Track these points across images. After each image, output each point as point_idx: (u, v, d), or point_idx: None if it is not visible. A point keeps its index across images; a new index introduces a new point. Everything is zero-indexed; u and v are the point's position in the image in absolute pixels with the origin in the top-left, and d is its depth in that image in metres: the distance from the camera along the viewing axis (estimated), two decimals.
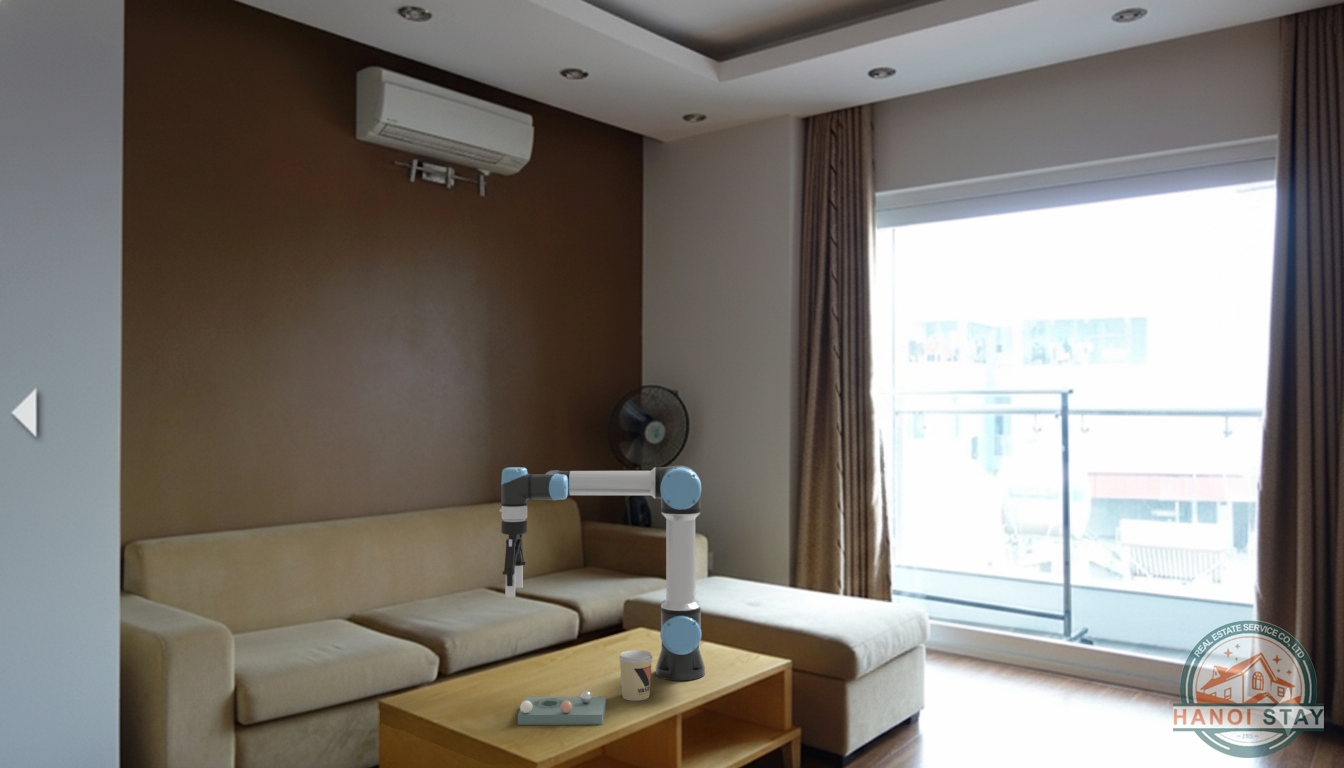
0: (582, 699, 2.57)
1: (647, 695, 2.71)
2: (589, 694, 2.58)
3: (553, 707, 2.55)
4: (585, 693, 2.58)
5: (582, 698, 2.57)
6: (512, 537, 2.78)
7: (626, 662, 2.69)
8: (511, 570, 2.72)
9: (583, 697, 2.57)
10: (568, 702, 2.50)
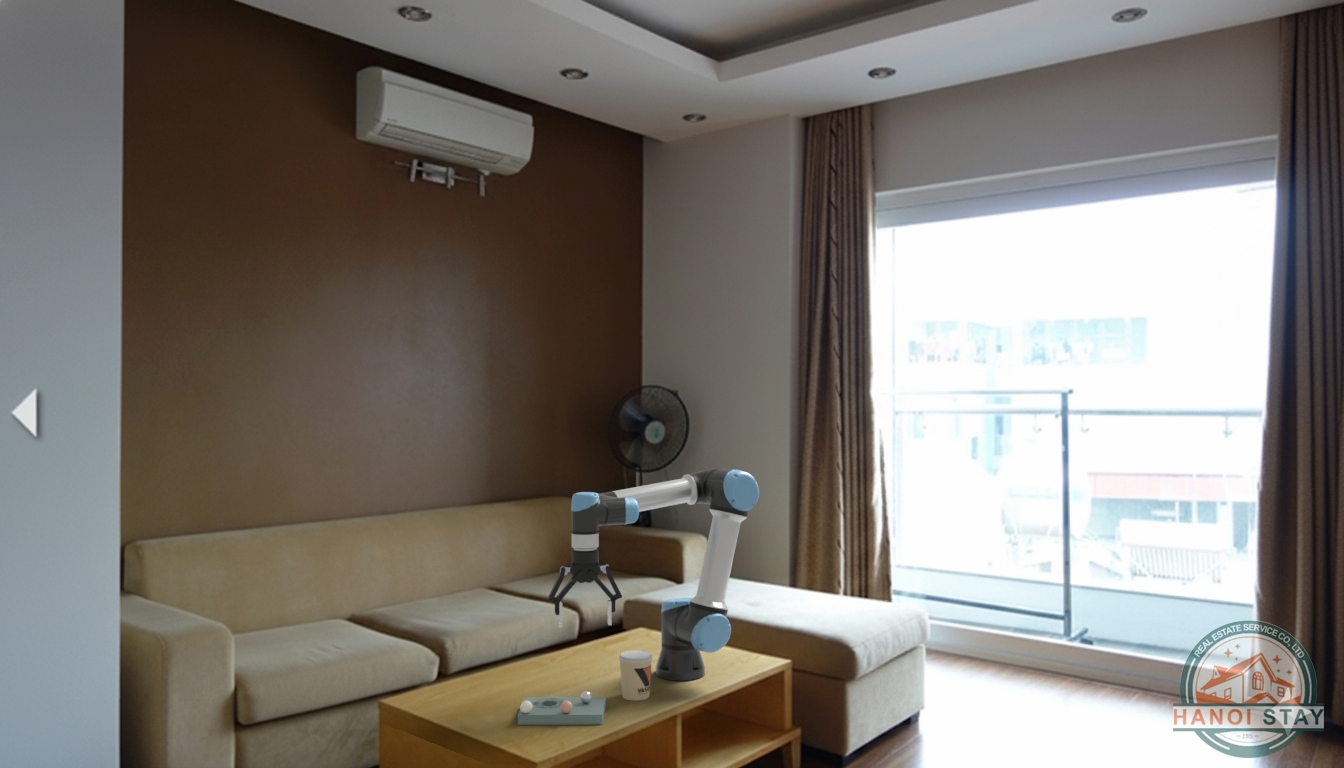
0: (582, 699, 2.57)
1: (647, 695, 2.71)
2: (589, 694, 2.58)
3: (553, 707, 2.55)
4: (585, 693, 2.58)
5: (582, 698, 2.57)
6: (571, 565, 2.64)
7: (626, 662, 2.69)
8: (549, 597, 2.62)
9: (583, 697, 2.57)
10: (568, 702, 2.50)
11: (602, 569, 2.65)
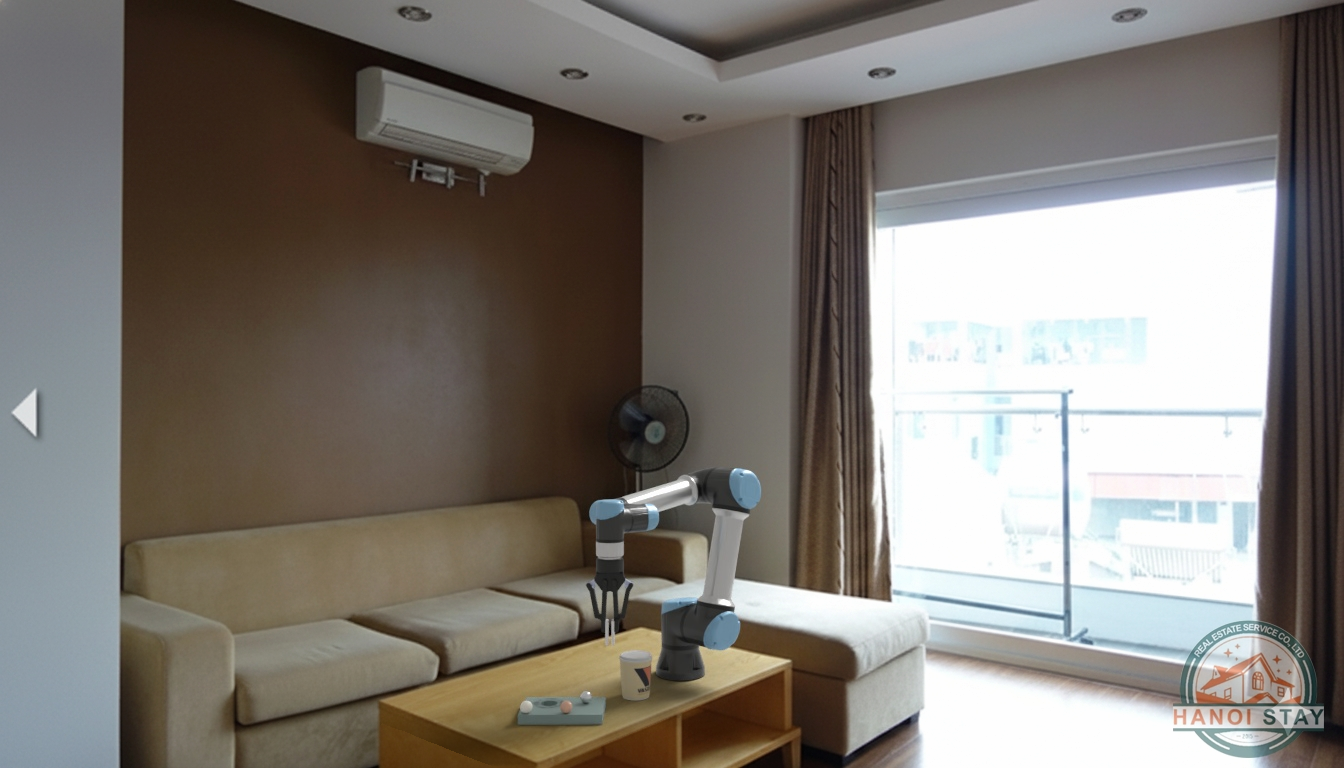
0: (582, 699, 2.57)
1: (647, 695, 2.71)
2: (589, 694, 2.58)
3: (553, 707, 2.55)
4: (585, 693, 2.58)
5: (582, 698, 2.57)
6: (596, 574, 2.59)
7: (626, 662, 2.69)
8: None
9: (583, 697, 2.57)
10: (568, 702, 2.50)
11: (625, 582, 2.59)
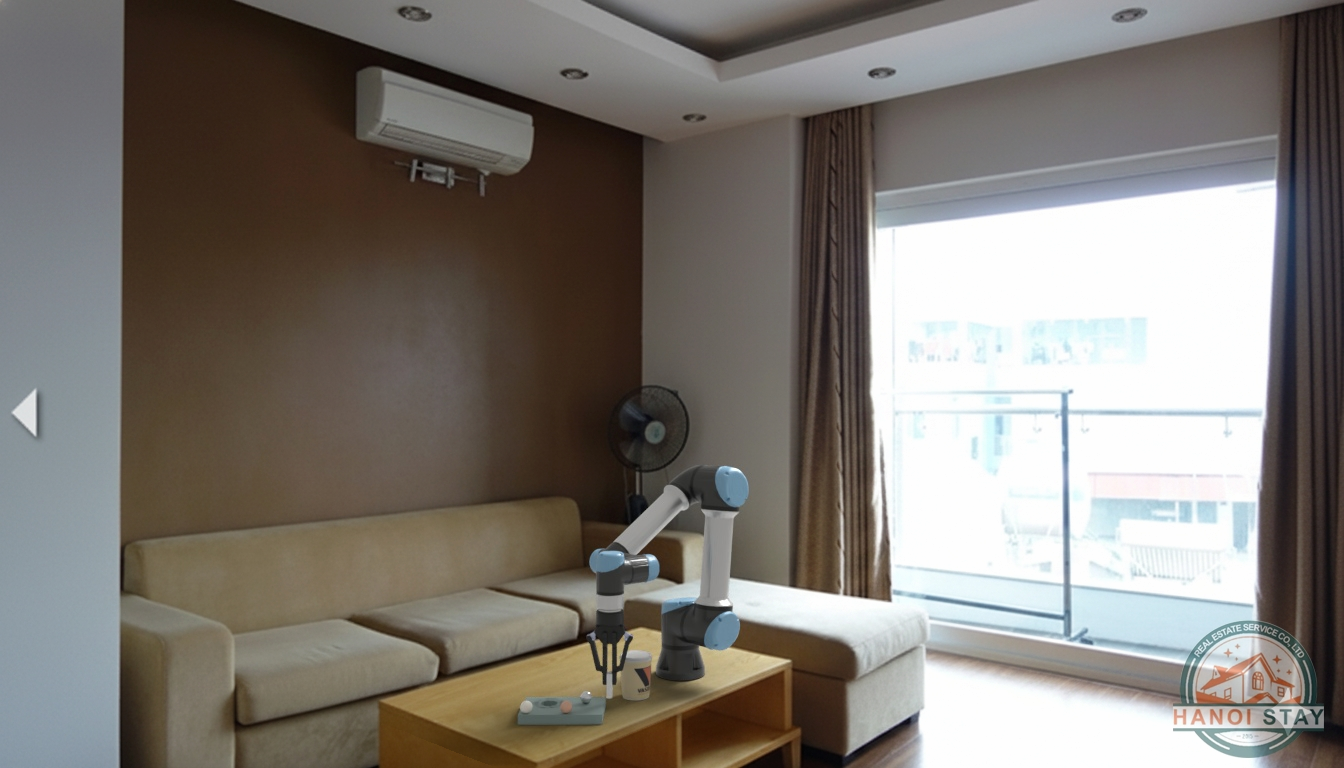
0: (582, 699, 2.57)
1: (647, 695, 2.71)
2: (589, 694, 2.58)
3: (553, 707, 2.55)
4: (585, 693, 2.58)
5: (582, 698, 2.57)
6: (596, 626, 2.59)
7: (626, 662, 2.69)
8: None
9: (583, 697, 2.57)
10: (568, 702, 2.50)
11: (625, 635, 2.58)
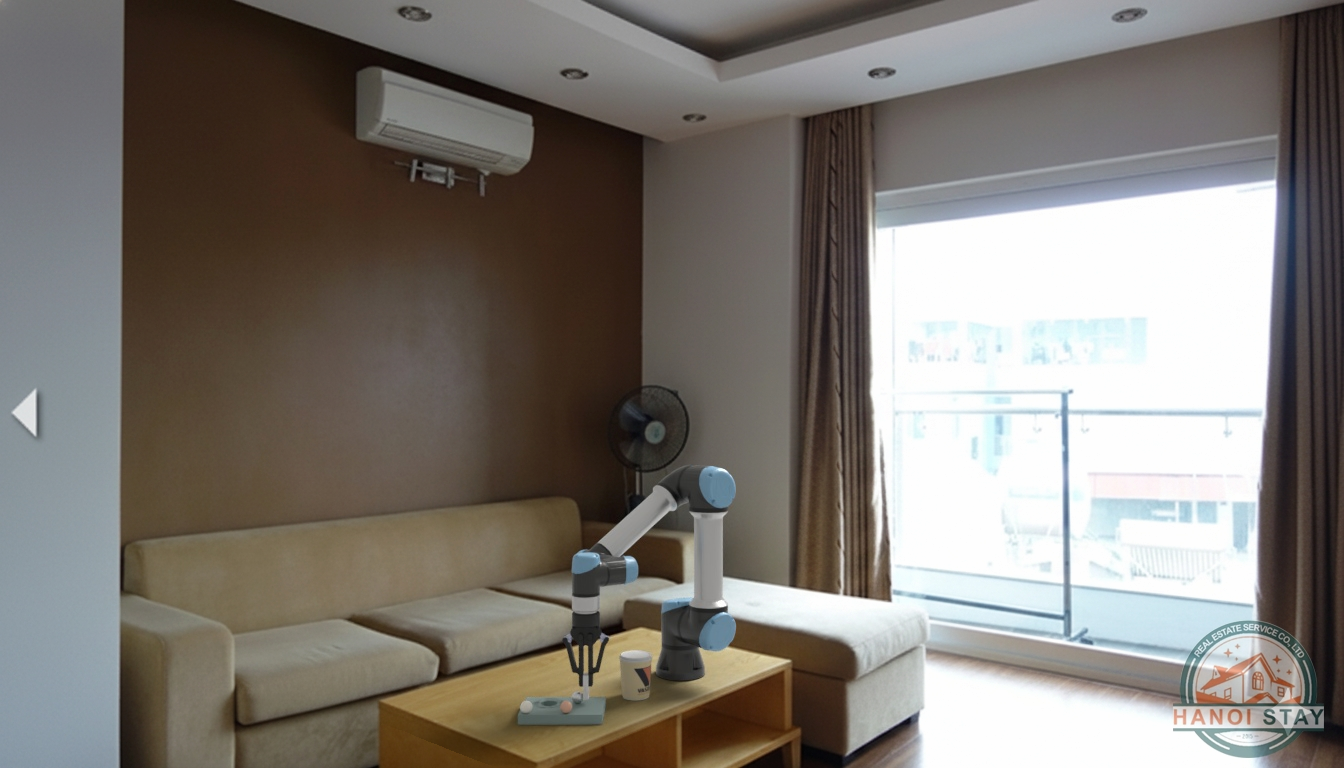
0: (577, 702, 2.57)
1: (647, 695, 2.71)
2: (574, 693, 2.58)
3: (553, 707, 2.55)
4: (572, 697, 2.58)
5: (576, 702, 2.57)
6: (572, 628, 2.59)
7: (626, 662, 2.69)
8: None
9: (575, 701, 2.57)
10: (568, 702, 2.50)
11: (601, 637, 2.58)
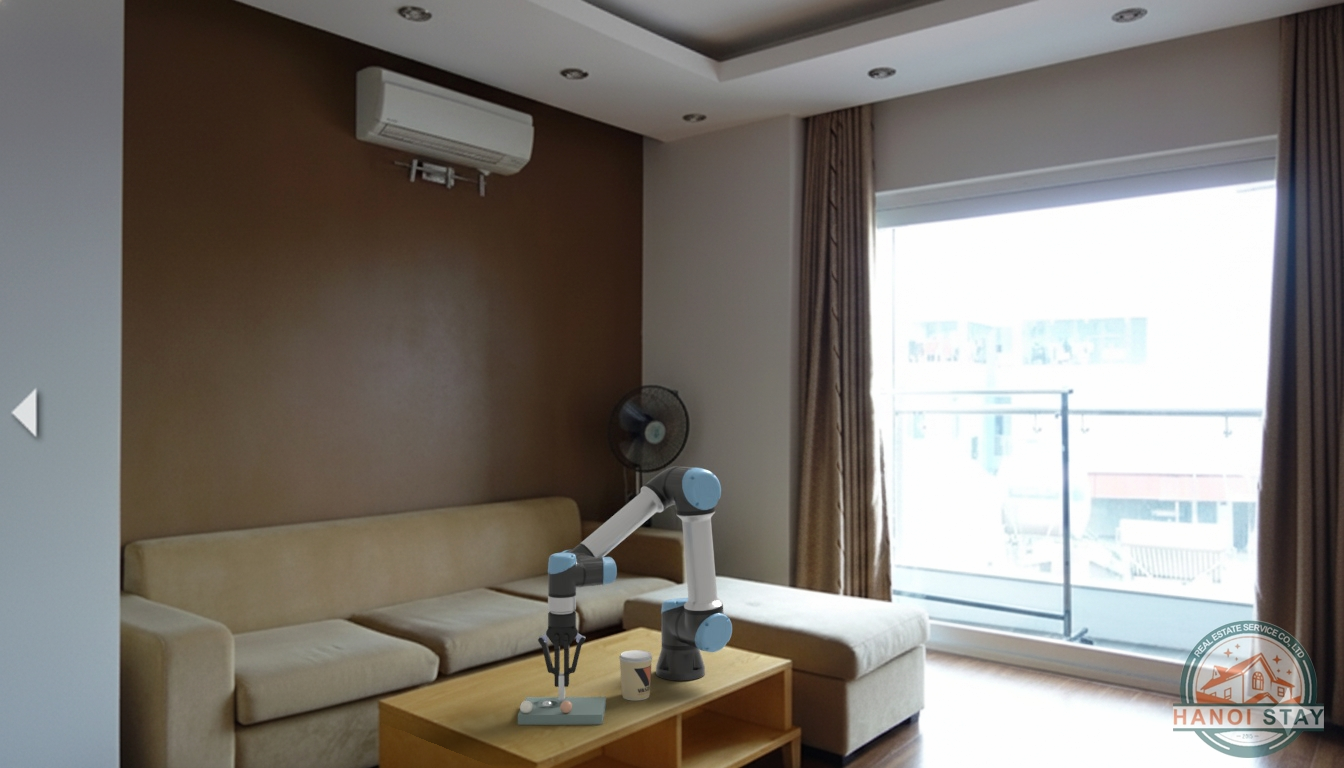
0: None
1: (647, 695, 2.71)
2: (546, 702, 2.58)
3: (553, 707, 2.55)
4: (543, 704, 2.58)
5: None
6: (548, 628, 2.59)
7: (626, 662, 2.69)
8: None
9: None
10: (568, 702, 2.50)
11: (577, 637, 2.58)
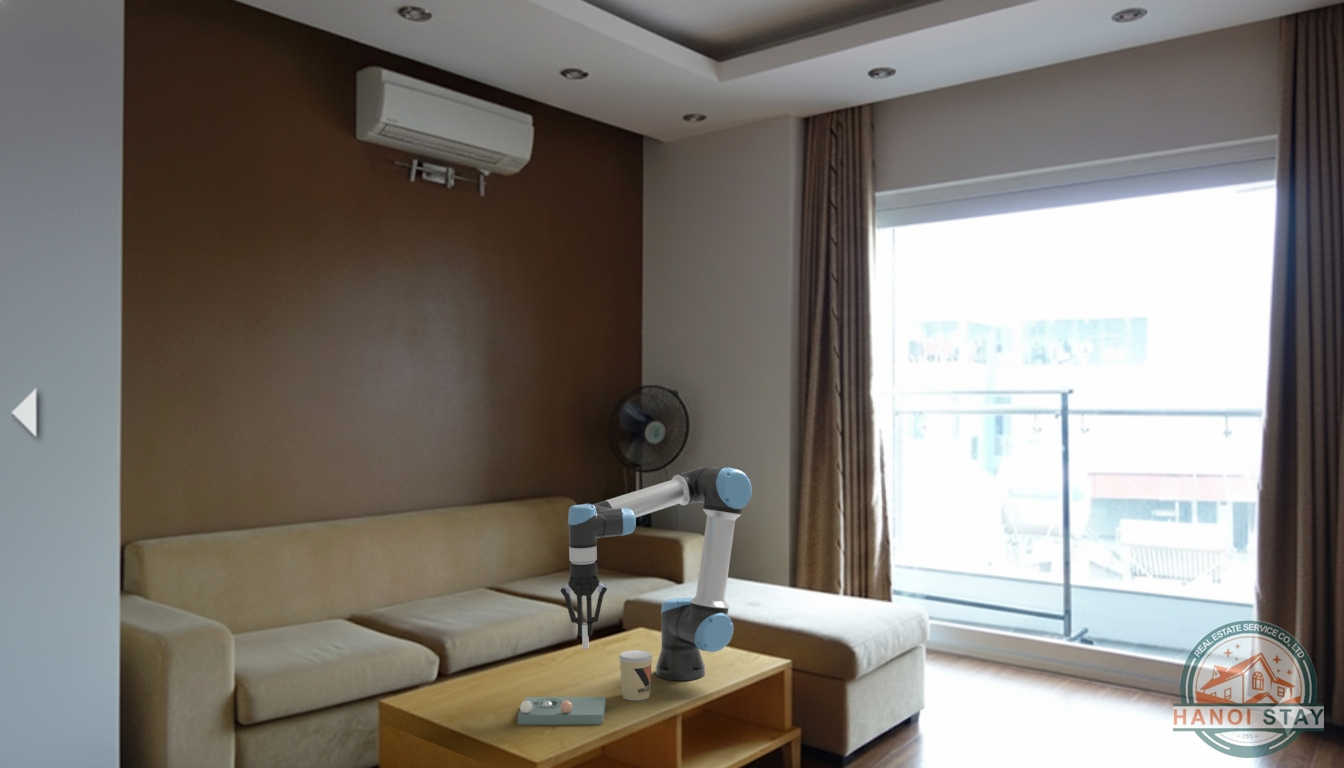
0: None
1: (647, 695, 2.71)
2: (547, 702, 2.58)
3: (553, 707, 2.55)
4: (543, 704, 2.58)
5: None
6: (570, 578, 2.62)
7: (626, 662, 2.69)
8: None
9: None
10: (568, 702, 2.50)
11: (599, 587, 2.62)
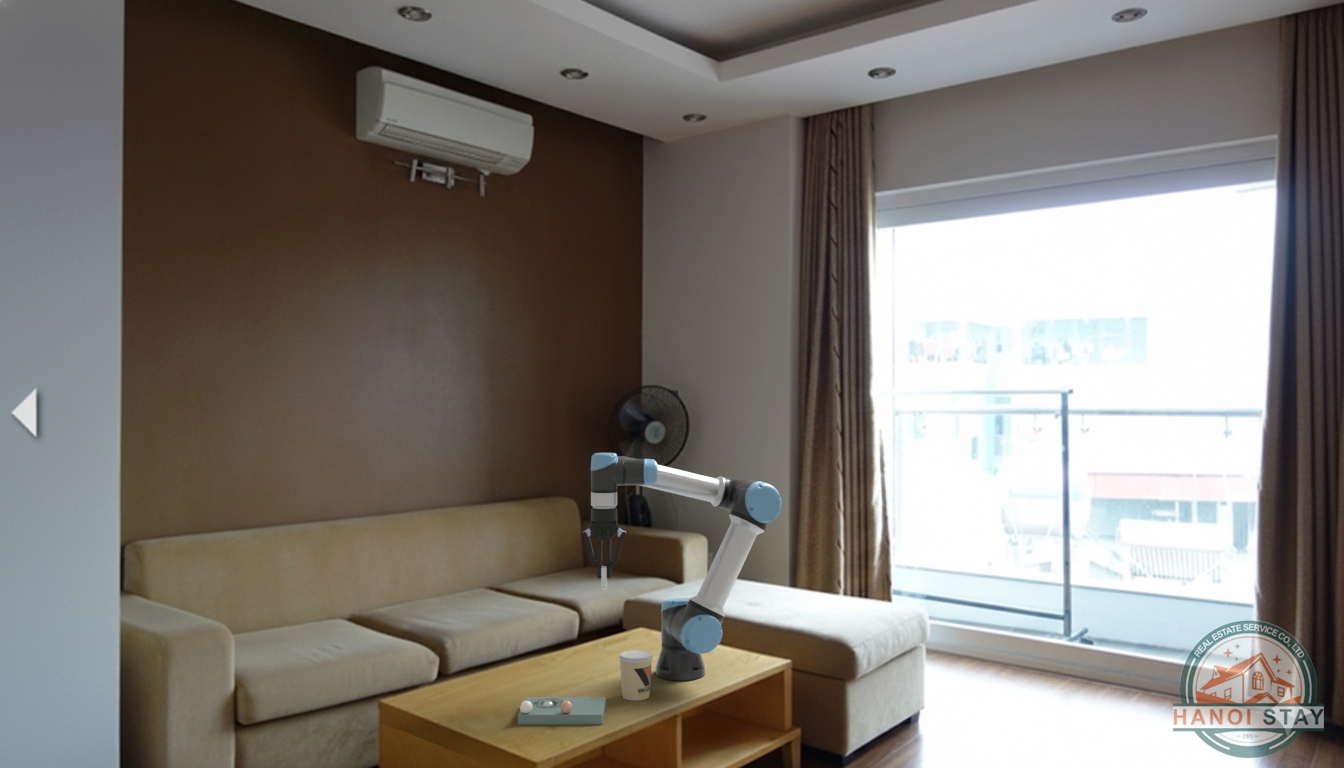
0: None
1: (647, 695, 2.71)
2: (548, 702, 2.58)
3: (553, 707, 2.55)
4: (544, 704, 2.58)
5: None
6: (591, 523, 2.73)
7: (626, 662, 2.69)
8: None
9: None
10: (568, 702, 2.50)
11: (619, 531, 2.73)
